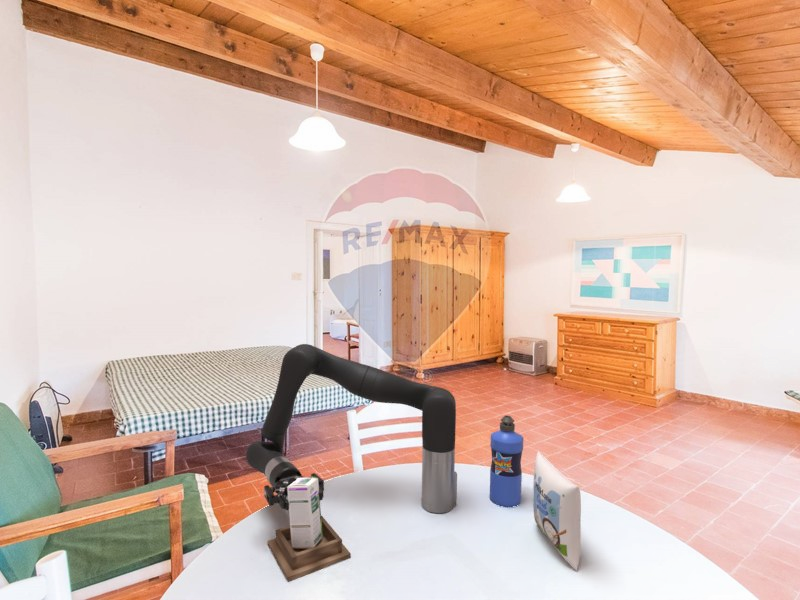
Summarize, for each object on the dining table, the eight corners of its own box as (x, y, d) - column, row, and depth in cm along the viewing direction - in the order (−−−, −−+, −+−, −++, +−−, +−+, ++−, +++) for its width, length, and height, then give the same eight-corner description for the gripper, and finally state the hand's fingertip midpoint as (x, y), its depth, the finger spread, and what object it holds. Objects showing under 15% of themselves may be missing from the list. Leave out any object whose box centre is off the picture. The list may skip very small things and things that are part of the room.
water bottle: (515, 511, 124) (518, 424, 122) (484, 501, 128) (486, 417, 127) (525, 496, 131) (528, 415, 130) (495, 488, 136) (497, 409, 135)
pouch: (553, 522, 118) (555, 450, 117) (589, 571, 99) (593, 485, 98) (524, 524, 117) (526, 451, 116) (555, 573, 98) (559, 486, 97)
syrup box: (314, 548, 102) (310, 484, 103) (290, 548, 103) (286, 485, 104) (323, 537, 108) (319, 476, 109) (300, 537, 109) (296, 477, 110)
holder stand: (324, 525, 115) (324, 511, 115) (350, 557, 103) (350, 541, 103) (267, 544, 107) (267, 528, 107) (288, 581, 95) (287, 563, 94)
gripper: (255, 467, 115) (275, 494, 102) (307, 455, 123) (332, 478, 110) (256, 495, 116) (275, 525, 102) (307, 481, 124) (332, 507, 110)
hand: (304, 501), depth 106 cm, fingers closed on syrup box, 8 cm apart
